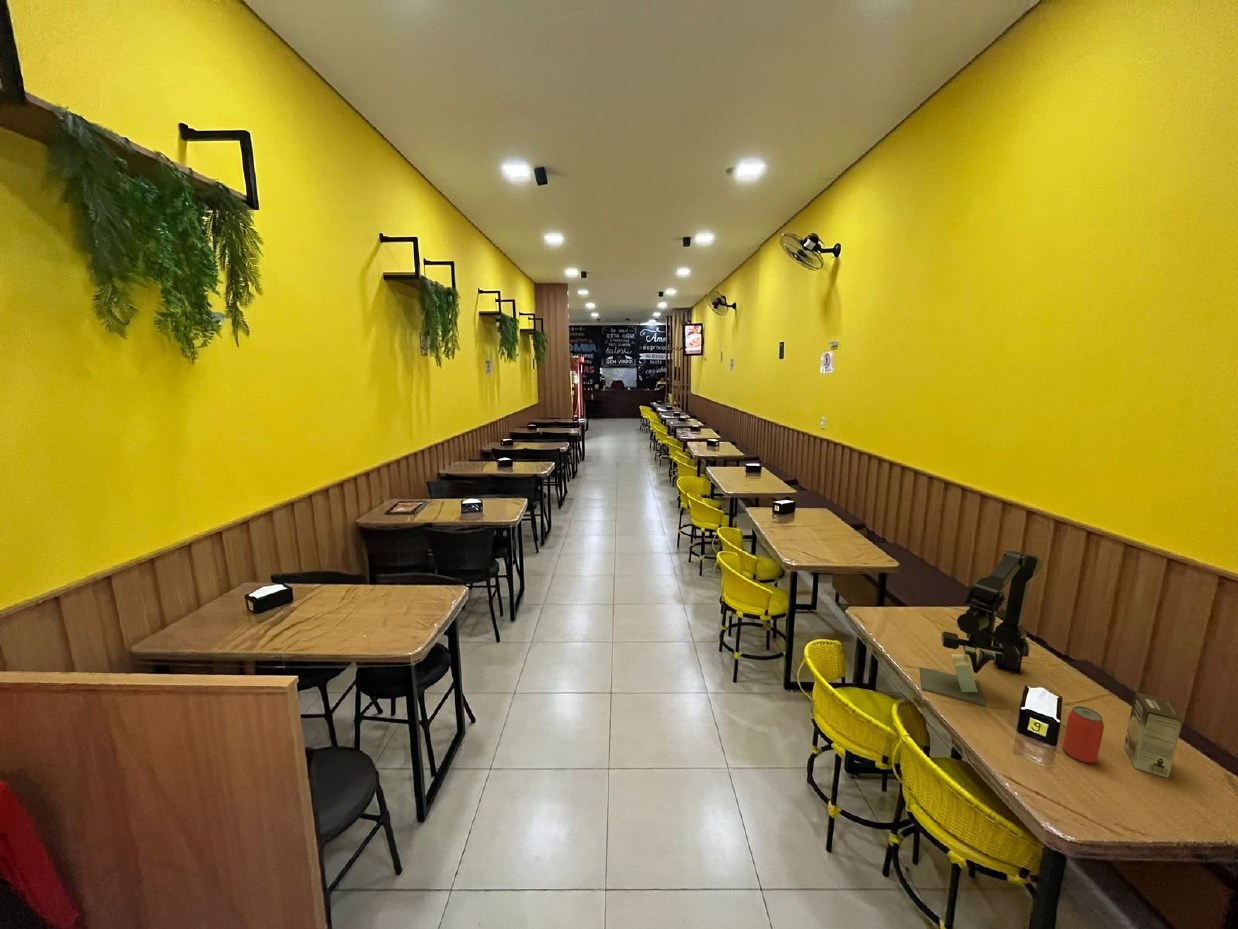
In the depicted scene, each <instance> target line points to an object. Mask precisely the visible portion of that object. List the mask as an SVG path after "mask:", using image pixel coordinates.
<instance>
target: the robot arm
mask: <svg viewBox="0 0 1238 929" xmlns="http://www.w3.org/2000/svg"><path fill="white" fill-rule="evenodd" d="M1042 568H1043V561H1042V560H1041V559H1040V558H1039V556H1036V555H1033V554H1029V553H1024V552H1021V551H1017V550H1014V551H1012V550H1006V551H1005V552H1004V553H1003V557H1002V558H1001V560H1000V561H999V563H998V564H997V565H996V567H995V568H994V569H993V570H992V572H990V574H988V576H986V577H981V578H979V579H978V580H977V581H976V582H975V583H974V584H973V583H972V585H971V587H970V589H969V592H968V594H967V595H966V598H965V600H964V603H963V605H964V606H967V607H968V608H969V609H966V612H964V613H962V614H960V615H959V616H958V617H957V619H956V623H957V624H956V625H957V626H958V628H959V631H961V632H963V633H965V634H966V638H967V639H964V638H963V639H962V638H959V634H958V633H955V632H949V631H943V632H942V633H941V636H940V638H941V639H940V640H941V643H942V646H943V647H944V648H948V649H950V650H951V649H952V650H957V649H959V648H960V646H961V647H962V648H963V651H964V654H967V656H969V659H970V662H971V665H972V666H971V667H972V671H973V673H974V674H978V673H979V672H980V671H981V669H982V668H984V666H985V665H986V664H987V663H989V662H990V661H993V663H994V664H995V666H996V669H999V670H1002V671H1006V672H1011V673H1016V674H1019V675H1020V674H1021V675H1022V673H1023V672H1022V670H1021V667H1022V662H1023V658H1024V657H1025V658H1029V654H1030V648H1031V646H1030V645H1029V642H1028V640H1027V635H1028V634H1027V632H1026V631H1027V630H1026V629H1025V627H1024V625H1023V619H1024V615H1025V608H1026V604H1027V599H1028V595H1029V589H1030V583H1031V581H1033V580H1034V579H1035V578H1036V577H1037V576H1038V575H1039V572H1041V570H1042ZM1009 583H1010V585H1009ZM1008 585H1009V591H1008V597H1007V599H1006V595H1005V593H1006V592H1005V588H1006V587H1007V586H1008ZM1005 602H1006V606H1005V612H1004V617H1003V620H1002V621H1001V622H1000V623H999V624H998V625H996V620H997V615H998V614H997V613H1000V612H1001V610H1002V608H1003V606H1004V604H1005ZM976 650H979V651H978V652H979V653H978V655H977V651H976Z"/></svg>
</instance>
